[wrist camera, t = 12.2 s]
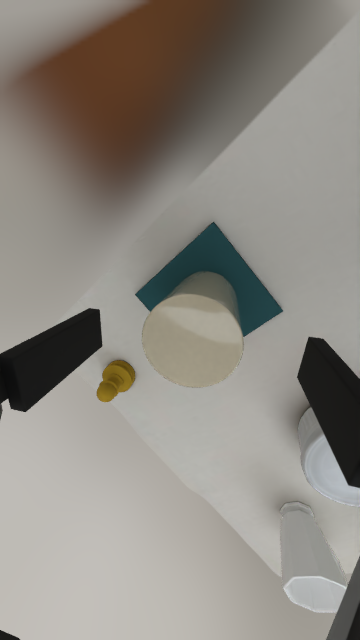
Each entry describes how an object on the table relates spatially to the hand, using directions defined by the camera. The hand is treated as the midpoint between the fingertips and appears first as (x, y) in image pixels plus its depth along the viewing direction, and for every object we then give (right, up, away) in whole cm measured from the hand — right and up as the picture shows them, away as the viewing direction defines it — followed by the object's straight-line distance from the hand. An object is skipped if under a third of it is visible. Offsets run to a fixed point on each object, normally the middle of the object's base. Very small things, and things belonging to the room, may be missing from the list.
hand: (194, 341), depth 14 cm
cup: (+17, -27, +18) cm, 36 cm away
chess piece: (-9, -6, +16) cm, 19 cm away
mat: (+2, +3, +10) cm, 11 cm away
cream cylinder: (+2, +3, +9) cm, 10 cm away
